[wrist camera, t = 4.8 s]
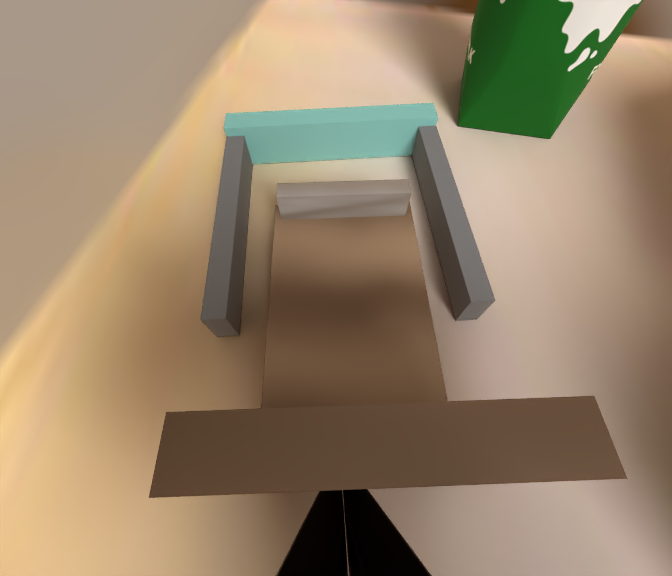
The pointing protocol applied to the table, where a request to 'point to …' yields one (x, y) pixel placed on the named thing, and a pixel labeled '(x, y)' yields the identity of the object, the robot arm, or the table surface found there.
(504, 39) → the milk carton
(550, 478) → the wooden drawer
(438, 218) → the bay
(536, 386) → the table surface
